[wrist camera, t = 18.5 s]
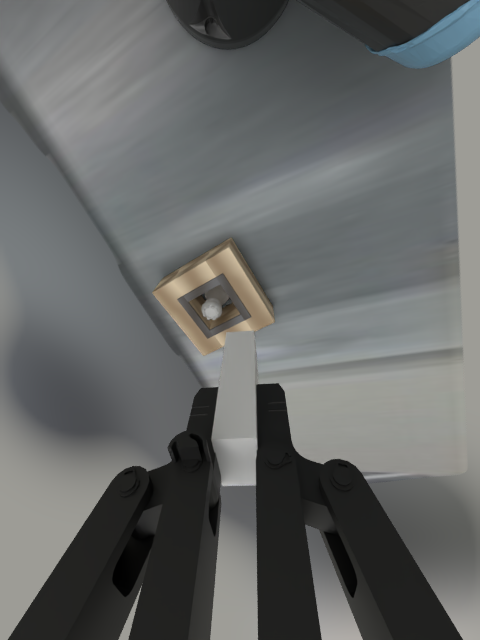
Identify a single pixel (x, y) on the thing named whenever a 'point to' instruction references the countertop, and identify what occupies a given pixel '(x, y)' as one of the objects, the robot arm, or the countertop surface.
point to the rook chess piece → (214, 302)
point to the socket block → (203, 275)
